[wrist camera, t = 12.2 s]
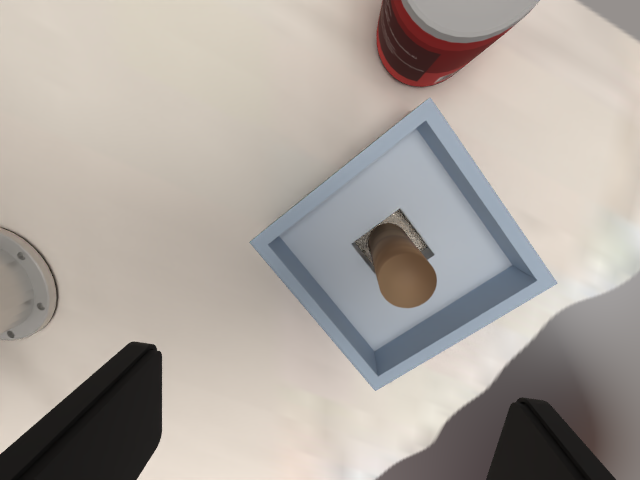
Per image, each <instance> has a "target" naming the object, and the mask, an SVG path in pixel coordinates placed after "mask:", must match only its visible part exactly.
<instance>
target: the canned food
mask: <svg viewBox="0 0 640 480" xmlns="http://www.w3.org/2000/svg"><path fill="white" fill-rule="evenodd" d="M539 1H540V0H383V1H382V6H381V11H380V16H379V21H378V27H377V47H378V52H379V56H380V58H381V60H382V63H383V65H384V66H385V68H386V69H387V71H388V72H389V73H390V74H391V75H392V76H393V77H394V78H396V79H397V80H399V81H401V82H402V83H404V84H408V85H411V86H420V87H424V86H431V85H435V84H437V83H440V82H443V81H444V80H446V79H448V78H450V77H451V76H453V75H454V74H455V73H456V72H458V71H459V70H460V69H461V68H463V67H464V66H465V65H466V64H468V63H469V62H470V61H471V60H473V59H474V58H475V57H476V56H478V55H479V54H480V53H481V52H483V51H484V50H485V49H486V48H488V47H489V46H490V45H491V44H493V43H494V42H495V41H496V40H498V39H499V38H500V37H501V36H503V35H504V34H505V33H506V32H507V31H509V30H510V29H511V28H512V27H513V26H514V25H516V24H517V23H518V22H519V21H520V20H521V19H522V18H524V17H525V16H526V15H527V14H528V13H529V12H530V11H531V10H532V9H533V8H534V7H535V6H536V4H537V3H538V2H539Z"/></svg>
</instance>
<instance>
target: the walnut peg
mask: <svg viewBox="0 0 640 480" xmlns="http://www.w3.org/2000/svg"><path fill="white" fill-rule="evenodd" d="M368 243H369V249H370V253H371V257H372V261H373V265H374V269H375V273H376V277H377V281H378V285H379V289H380V292H381V294H382V295H383V297H384V298H385V299H386V300H387V301H388V302H389V303H391V304H392V305H394V306H397V307H400V308H414V307H417V306H420V305H422V304H424V303H425V302H426V301H428V300H429V299H430V298H431V296H432V295H433V293H434V291H435V289H436V285H437V276H436V272H435V270H434V268H433V267H432V265H431V264H430V263H429V262H428V260H427V259H426V258H425V257H424V255H423V254H422V253H421V252H420V251H419V249H418V248H417V247H416V246H415V244H414V243H413V242H412V241H411V239H410V238H409V237H408V236H407V235H406V233H405V232H404V231H403V230H402V229H401V228H400V227H399V226H397V225H395V224H391V223H386V224H382V225H379V226H377V227H376V228H375V229H374V230H373V231H372V232H371V234H370V236H369V241H368Z"/></svg>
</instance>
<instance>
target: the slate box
mask: <svg viewBox="0 0 640 480" xmlns="http://www.w3.org/2000/svg"><path fill="white" fill-rule="evenodd" d="M398 209H400V211H401V212H402V213H403V215H404V216H405V217H406V219H407V220H408V221H409V223H410V224H411V225H412V227H413V228H414V229H415V231H416V232H417V233H418V235H419V236H420V237H421V239H422V240H423V241H424V243H425V244H426V246H427V248H425V249H424V250H423V251H421V253H422V254H423V255H424V257H425V258H426V259H427V260H428V262H429V263H430V264H431V265H432V267H433V268H434V270H435V272H436V276H437V285H436V289H435V291H434V293H433V295H432V296H431V298H430V299H429V300H428V301H426V302H425V303H424V304H422V305H420V306H417V307H414V308H400V307H397V306H394V305H392V304H391V303H389V302H388V301H387V300H386V299H385V298H384V297H383V295H382V294H381V292H380V289H379V285H378V281H377V277H376V273H375V269H374V266H373V265H372V263H371V262H370V261H369V260H368V258H367V257H366V256H365V254H364V253H363V252H362V251H361V249H360V248H359V247H358V246H357V244H356V243H355V242H354V241H356V240H357V239H359V238H360V237H361V236H363V235H364V234H365V233H367V232H368V231H369V230H371V229H372V228H374V227H375V226H376V225H378V224H379V223H380V222H382V221H383V220H385V219H386V218H387V217H389V216H390V215H391V214H393V213H394V212H395V211H397V210H398ZM250 244H251V245H252V246H253V247H254V248H255V249H256V251H257V252H258V253H259V254H260V255H261V257H262V258H263V259H264V260H265V261H266V262H267V264H268V265H269V266H270V267H271V268H272V270H273V271H274V272H275V273H276V274H277V275H278V277H279V278H280V279H281V280H282V281H283V283H284V284H285V285H286V286H287V287H288V289H289V290H290V291H291V292H292V293H293V294H294V296H295V297H296V298H297V299H298V300H299V302H300V303H301V304H302V305H303V306H304V307H305V309H306V310H307V311H308V312H309V313H310V315H311V316H312V317H313V318H314V319H315V320H316V322H317V323H318V324H319V325H320V326H321V328H322V329H323V330H324V331H325V332H326V333H327V335H328V336H329V337H330V338H331V339H332V341H333V342H334V343H335V344H336V345H337V346H338V348H339V349H340V350H341V351H342V352H343V354H344V355H345V356H346V357H347V358H348V359H349V361H350V362H351V363H352V364H353V365H354V367H355V368H356V369H357V370H358V371H359V372H360V374H361V375H362V376H363V377H364V378H365V380H366V381H367V382H368V383H369V384H370V385H371V387H372V388H373V389H374V390H375V391H376V390H378V389H380V388H381V387H383V386H385V385H386V384H388V383H390V382H392V381H393V380H395V379H397V378H398V377H400V376H402V375H403V374H405V373H407V372H409V371H410V370H412V369H414V368H415V367H417V366H419V365H420V364H422V363H424V362H425V361H427V360H429V359H431V358H432V357H434V356H436V355H437V354H439V353H441V352H442V351H444V350H446V349H447V348H449V347H451V346H453V345H454V344H456V343H458V342H459V341H461V340H463V339H464V338H466V337H468V336H469V335H471V334H473V333H475V332H476V331H478V330H480V329H481V328H483V327H485V326H486V325H488V324H490V323H491V322H493V321H495V320H497V319H498V318H500V317H502V316H503V315H505V314H507V313H508V312H510V311H512V310H513V309H515V308H517V307H519V306H520V305H522V304H524V303H525V302H527V301H529V300H530V299H532V298H534V297H535V296H537V295H539V294H541V293H542V292H544V291H546V290H547V289H549V288H551V287H552V286H554V285H556V284H557V282H556V280H555V279H554V277H553V276H552V274H551V273H550V271H549V270H548V269H547V267H546V266H545V264H544V263H543V261H542V260H541V258H540V257H539V255H538V254H537V252H536V251H535V250H534V248H533V247H532V245H531V244H530V242H529V241H528V239H527V238H526V236H525V235H524V233H523V232H522V231H521V229H520V228H519V226H518V225H517V223H516V222H515V220H514V219H513V217H512V216H511V214H510V213H509V212H508V210H507V209H506V207H505V206H504V204H503V203H502V201H501V200H500V198H499V197H498V195H497V194H496V193H495V191H494V190H493V188H492V187H491V185H490V184H489V182H488V181H487V179H486V178H485V176H484V175H483V174H482V172H481V171H480V169H479V168H478V166H477V165H476V163H475V162H474V160H473V159H472V157H471V156H470V155H469V153H468V152H467V150H466V149H465V147H464V146H463V144H462V143H461V141H460V140H459V138H458V137H457V136H456V134H455V133H454V131H453V130H452V128H451V127H450V125H449V124H448V122H447V121H446V119H445V118H444V117H443V115H442V114H441V112H440V111H439V109H438V108H437V106H436V105H435V103H434V102H433V100H432V99H431V98H428V99H427V100H426V101H425V102H423V103H422V104H421V105H419V106H418V107H417V108H416V109H414V110H413V111H412V112H411V113H409V114H408V115H407V116H406V117H404V118H403V119H402V120H401V121H399V122H398V123H397V124H396V125H394V126H393V127H392V128H391V129H389V130H388V131H387V132H386V133H384V134H383V135H382V136H381V137H379V138H378V139H377V140H376V141H374V142H373V143H372V144H371V145H369V146H368V147H367V148H366V149H364V150H363V151H362V152H361V153H359V154H358V155H357V156H356V157H354V158H353V159H352V160H351V161H349V162H348V163H347V164H346V165H345V166H343V167H342V168H341V169H340V170H338V171H337V172H336V173H335V174H333V175H332V176H331V177H330V178H328V179H327V180H326V181H325V182H323V183H322V184H321V185H320V186H318V187H317V188H316V189H315V190H313V191H312V192H311V193H310V194H308V195H307V196H306V197H305V198H303V199H302V200H301V201H300V202H298V203H297V204H296V205H295V206H293V207H292V208H291V209H290V210H288V211H287V212H286V213H285V214H283V215H282V216H281V217H280V218H278V219H277V220H276V221H275V222H274V223H272V224H271V225H270V226H269V227H267V228H266V229H265V230H264V231H262V232H261V233H260V234H259V235H258V236H256V237H255V238H254V239H253V240H252V241H250Z"/></svg>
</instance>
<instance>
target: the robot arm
mask: <svg viewBox="0 0 640 480" xmlns="http://www.w3.org/2000/svg"><path fill="white" fill-rule="evenodd" d="M56 299H57V297H56V287H55V283H54V279H53V276H52V274H51V272H50V270H49V267H48V266H47V264H46V263H45V261H44V260H43V258H42V257H41V255H40V254H39V253H38V252H37V251H36V250H35V249H34V248H33V247H32V246H31V245H30V244H29V243H27V242H26V241H25V240H24V239H22V238H21V237H19V236H17V235H16V234H14V233H12V232H10V231H7V230H5V229H2V228H0V340H19V339H23V338H26V337H28V336H31V335H32V334H34V333H36V332H38V331H40V330H41V329H42V328H43V327H45V326H46V325H47V324H48V322H49V321H50V319H51V318H52V316H53V313H54V311H55V307H56ZM161 434H162V354H161V352H160V351H157V348H156V346H155V345H154V344H147V343H140V342H130V343H129V344H128V345H126V346H125V347H124V348H123V349H122V350H121V351H119V352H118V353H117V354H116V355H115V356H114V357H112V358H111V359H110V360H109V361H108V362H107V363H106V364H104V365H103V366H102V367H101V368H100V369H99V370H97V371H96V372H95V373H94V374H93V375H92V376H90V377H89V378H88V379H87V380H86V381H85V382H83V383H82V384H81V385H80V386H79V387H78V388H77V389H75V390H74V391H73V392H72V393H71V394H70V395H68V396H67V397H66V398H65V399H64V400H63V401H61V402H60V403H59V404H58V405H57V406H56V407H55V408H53V409H52V410H51V411H50V412H49V413H48V414H46V415H45V416H44V417H43V418H42V419H41V420H39V421H38V422H37V423H36V424H35V425H34V426H33V427H31V428H30V429H29V430H28V431H27V432H26V433H24V434H23V435H22V436H21V437H20V438H19V439H17V440H16V441H15V442H14V443H13V444H12V445H11V446H9V447H8V448H7V449H6V450H5V451H4V452H2V453H1V454H0V480H137V478H138V477H139V475H140V473H141V472H142V470H143V469H144V467H145V466H146V464H147V462H148V461H149V459H150V458H151V456H152V455H153V453H154V451H155V450H156V448H157V446H158V444H159V442H160V439H161ZM486 480H616V479H615V478H614V477H613V476H612V474H611V473H610V472H609V471H608V470H607V469H606V468H605V467H604V465H603V464H602V463H601V462H600V461H599V460H598V459H597V458H596V456H595V455H594V454H593V453H592V452H591V451H590V449H589V448H588V447H587V446H586V445H585V444H584V443H583V442H582V440H581V439H580V438H579V437H578V436H577V435H576V434H575V432H574V431H573V430H572V429H571V428H570V427H569V426H568V424H567V423H566V422H565V421H564V420H563V419H562V418H561V417H560V415H559V414H558V413H557V412H556V411H555V410H554V409H553V408H552V406H551V405H550V404H548V403H547V402H545V401H543V400H536V399H529V398H519V399H518V400H517V401H516V403H512V404H511V406H510V408H509V411H508V414H507V417H506V420H505V423H504V427H503V430H502V432H501V436H500V439H499V442H498V445H497V448H496V451H495V454H494V457H493V460H492V463H491V466H490V469H489V472H488V475H487V479H486Z"/></svg>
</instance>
